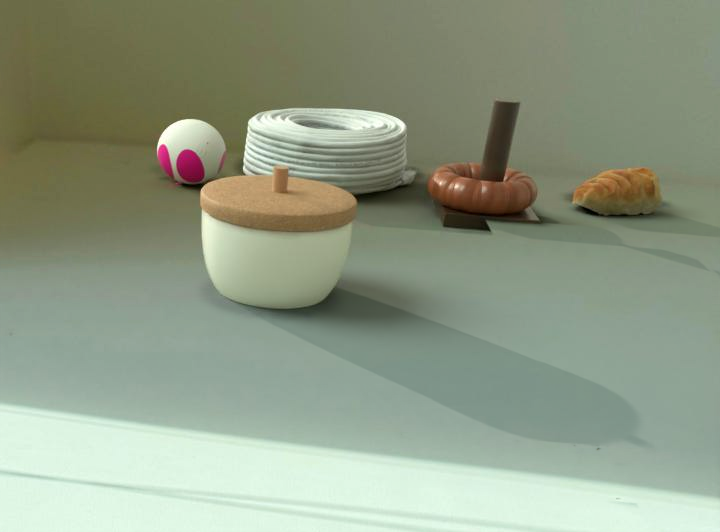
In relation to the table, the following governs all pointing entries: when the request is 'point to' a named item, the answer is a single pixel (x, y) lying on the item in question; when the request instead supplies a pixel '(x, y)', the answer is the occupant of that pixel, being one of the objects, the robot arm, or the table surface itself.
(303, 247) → the trinket box
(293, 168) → the cable
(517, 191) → the ring
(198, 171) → the stress ball
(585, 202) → the pastry
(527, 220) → the stand
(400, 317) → the table surface
